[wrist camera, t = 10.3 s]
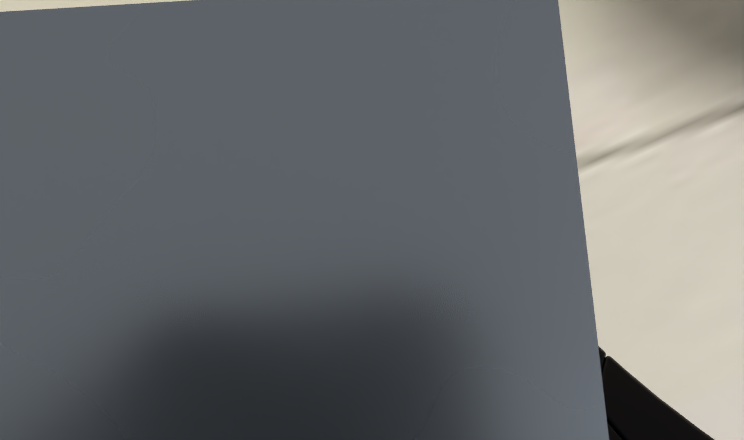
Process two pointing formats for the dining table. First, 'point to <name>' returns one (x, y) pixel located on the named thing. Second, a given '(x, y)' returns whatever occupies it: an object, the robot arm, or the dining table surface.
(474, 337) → the brushed metal block
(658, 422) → the robot arm
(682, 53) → the dining table surface
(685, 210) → the dining table surface
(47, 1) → the dining table surface
